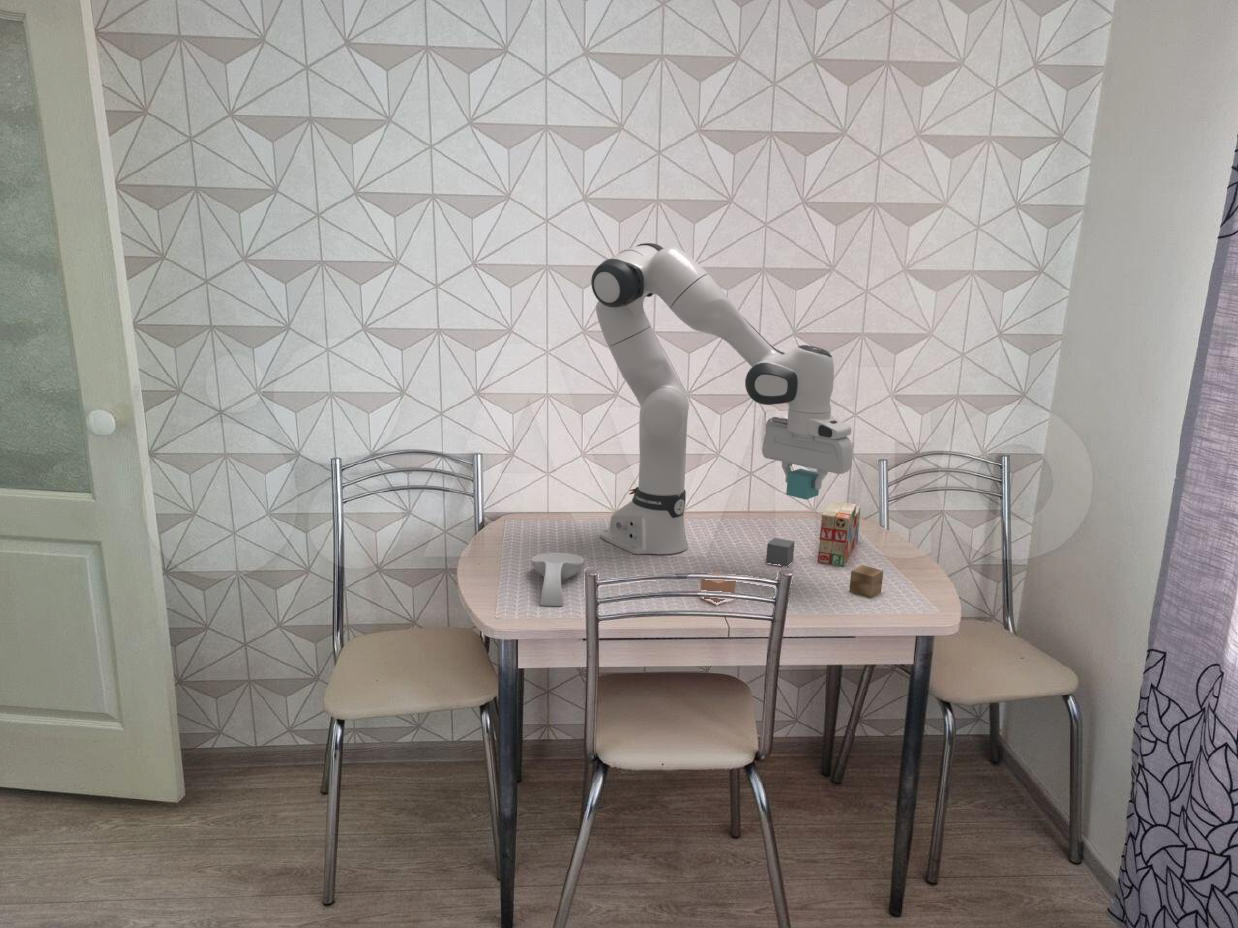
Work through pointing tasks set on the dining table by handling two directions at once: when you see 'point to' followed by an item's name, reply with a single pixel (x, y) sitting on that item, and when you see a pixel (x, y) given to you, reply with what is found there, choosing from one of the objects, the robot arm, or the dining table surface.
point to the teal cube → (801, 484)
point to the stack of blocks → (838, 533)
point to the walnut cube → (866, 581)
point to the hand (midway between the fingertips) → (803, 485)
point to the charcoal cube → (780, 552)
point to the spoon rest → (555, 574)
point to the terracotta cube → (717, 586)
